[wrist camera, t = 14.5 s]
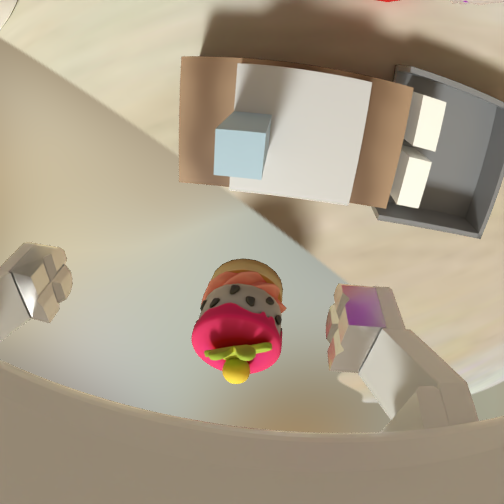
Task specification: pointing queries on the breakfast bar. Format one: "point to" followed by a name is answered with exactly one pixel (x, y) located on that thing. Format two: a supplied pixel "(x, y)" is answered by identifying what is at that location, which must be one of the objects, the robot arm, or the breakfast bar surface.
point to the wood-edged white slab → (222, 105)
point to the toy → (465, 1)
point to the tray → (455, 159)
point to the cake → (240, 319)
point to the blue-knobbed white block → (293, 133)
